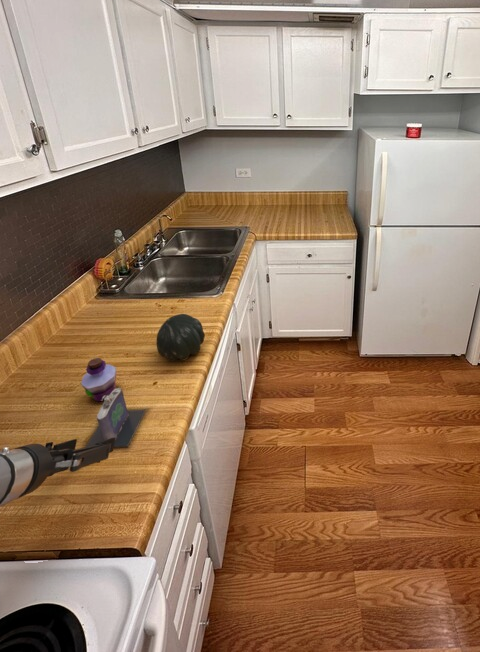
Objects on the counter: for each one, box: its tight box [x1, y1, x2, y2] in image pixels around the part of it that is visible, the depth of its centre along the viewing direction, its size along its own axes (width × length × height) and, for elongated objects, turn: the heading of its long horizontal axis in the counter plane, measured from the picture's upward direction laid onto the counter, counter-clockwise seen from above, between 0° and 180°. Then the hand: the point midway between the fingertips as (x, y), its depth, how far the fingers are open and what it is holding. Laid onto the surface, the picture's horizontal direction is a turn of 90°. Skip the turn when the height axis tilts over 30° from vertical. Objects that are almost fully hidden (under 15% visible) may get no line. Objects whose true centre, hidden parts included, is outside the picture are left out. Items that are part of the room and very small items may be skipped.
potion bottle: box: [80, 357, 117, 404], centre depth 92 cm, size 9×9×12 cm
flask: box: [96, 387, 129, 440], centre depth 82 cm, size 9×3×11 cm, turn 3°
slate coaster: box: [85, 409, 147, 449], centre depth 84 cm, size 10×10×1 cm
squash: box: [156, 313, 206, 361], centre depth 108 cm, size 14×15×15 cm
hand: (93, 445), depth 75 cm, fingers open, 8 cm apart
